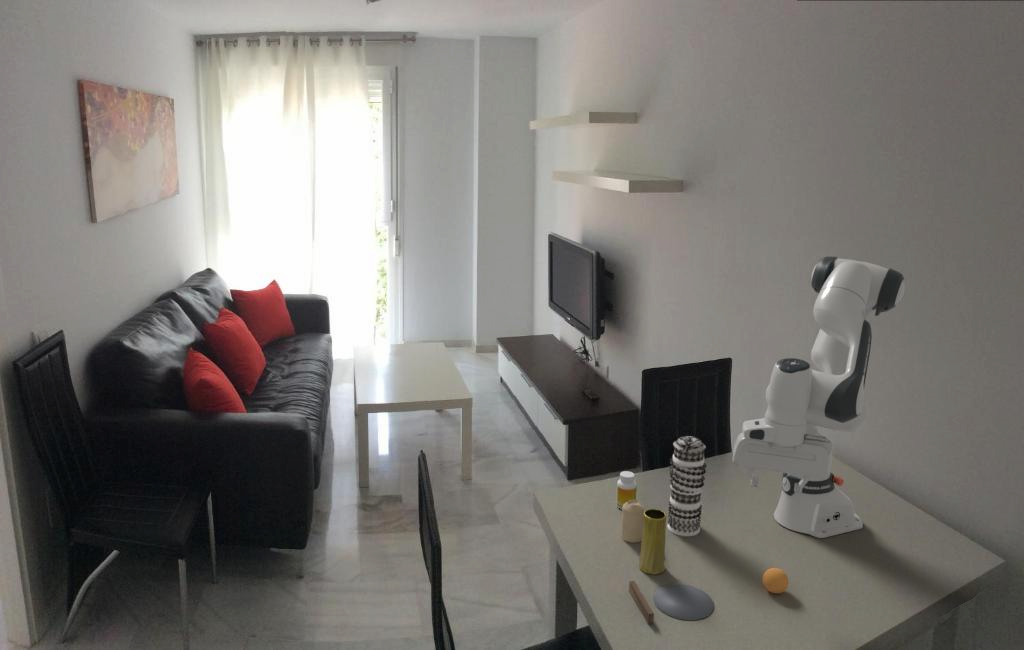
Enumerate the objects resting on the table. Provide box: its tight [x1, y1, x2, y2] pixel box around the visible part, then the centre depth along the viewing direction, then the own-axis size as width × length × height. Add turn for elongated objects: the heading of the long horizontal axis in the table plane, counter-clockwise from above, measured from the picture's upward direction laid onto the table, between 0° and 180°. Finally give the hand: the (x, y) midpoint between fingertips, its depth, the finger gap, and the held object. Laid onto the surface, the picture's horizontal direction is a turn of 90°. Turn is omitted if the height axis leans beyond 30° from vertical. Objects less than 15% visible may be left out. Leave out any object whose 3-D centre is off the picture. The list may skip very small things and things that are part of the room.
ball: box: [762, 567, 789, 594], centre depth 170 cm, size 6×6×6 cm
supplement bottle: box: [615, 470, 638, 510], centre depth 207 cm, size 5×5×10 cm
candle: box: [620, 499, 645, 544], centre depth 191 cm, size 6×6×10 cm
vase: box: [638, 508, 667, 575], centre depth 177 cm, size 6×6×14 cm
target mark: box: [653, 583, 715, 621], centre depth 166 cm, size 13×13×1 cm
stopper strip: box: [628, 580, 655, 625], centre depth 164 cm, size 1×12×2 cm, turn 11°
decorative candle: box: [666, 435, 707, 537], centre depth 194 cm, size 9×9×25 cm
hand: (775, 488), depth 170 cm, fingers open, 8 cm apart
